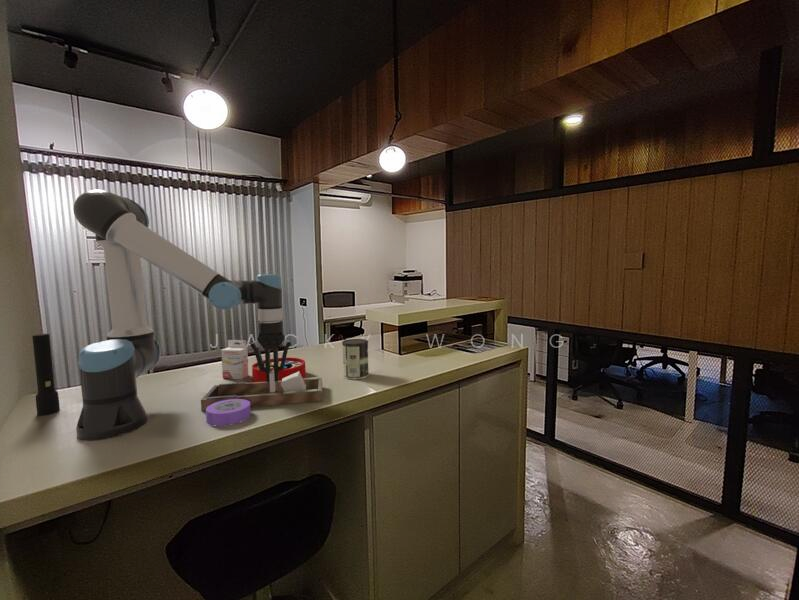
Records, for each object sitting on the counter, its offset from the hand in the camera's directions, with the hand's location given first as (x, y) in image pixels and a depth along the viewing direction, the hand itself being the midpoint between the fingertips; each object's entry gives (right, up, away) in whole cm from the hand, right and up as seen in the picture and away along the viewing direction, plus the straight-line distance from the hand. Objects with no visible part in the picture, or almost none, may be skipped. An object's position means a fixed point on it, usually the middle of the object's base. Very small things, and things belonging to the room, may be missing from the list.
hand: (272, 391), depth 122 cm
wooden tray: (-2, -2, 0) cm, 3 cm away
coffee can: (+25, 0, +24) cm, 35 cm away
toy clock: (-5, -1, +23) cm, 23 cm away
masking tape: (-7, -4, -15) cm, 18 cm away
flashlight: (-65, -4, -10) cm, 66 cm away
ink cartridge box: (-23, -1, +24) cm, 33 cm away
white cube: (+8, -1, +2) cm, 8 cm away
